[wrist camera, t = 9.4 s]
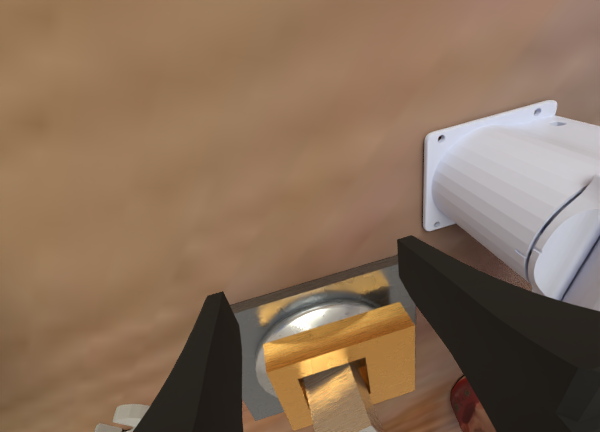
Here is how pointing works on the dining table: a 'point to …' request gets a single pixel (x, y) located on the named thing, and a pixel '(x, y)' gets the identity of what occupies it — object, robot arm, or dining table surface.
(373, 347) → the bracket rosette
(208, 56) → the dining table surface
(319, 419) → the rectangular block
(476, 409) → the brown ceramic rounded pot
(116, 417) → the adjustable wrench
